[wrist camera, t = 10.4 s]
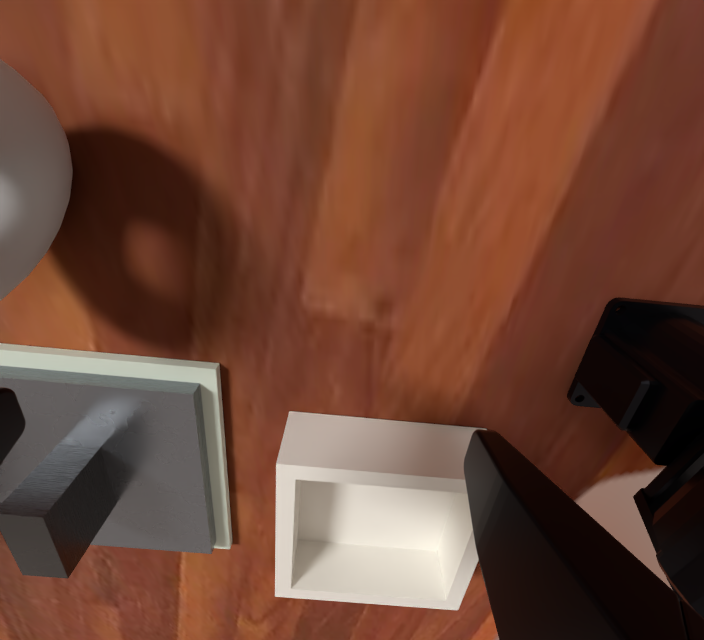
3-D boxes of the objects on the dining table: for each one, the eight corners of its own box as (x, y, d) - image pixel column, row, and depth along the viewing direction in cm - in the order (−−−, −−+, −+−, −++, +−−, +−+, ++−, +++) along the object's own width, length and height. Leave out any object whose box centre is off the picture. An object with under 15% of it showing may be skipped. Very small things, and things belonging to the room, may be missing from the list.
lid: (199, 383, 21) (151, 460, 16) (216, 540, 27) (185, 629, 23) (-57, 360, 21) (-186, 432, 16) (20, 524, 27) (-56, 612, 22)
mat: (219, 363, 21) (215, 369, 21) (232, 541, 28) (230, 549, 28) (-73, 336, 21) (-84, 342, 20) (15, 524, 28) (9, 531, 27)
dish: (486, 428, 23) (509, 483, 19) (445, 549, 28) (457, 610, 25) (289, 411, 23) (276, 463, 19) (286, 537, 28) (275, 596, 25)
